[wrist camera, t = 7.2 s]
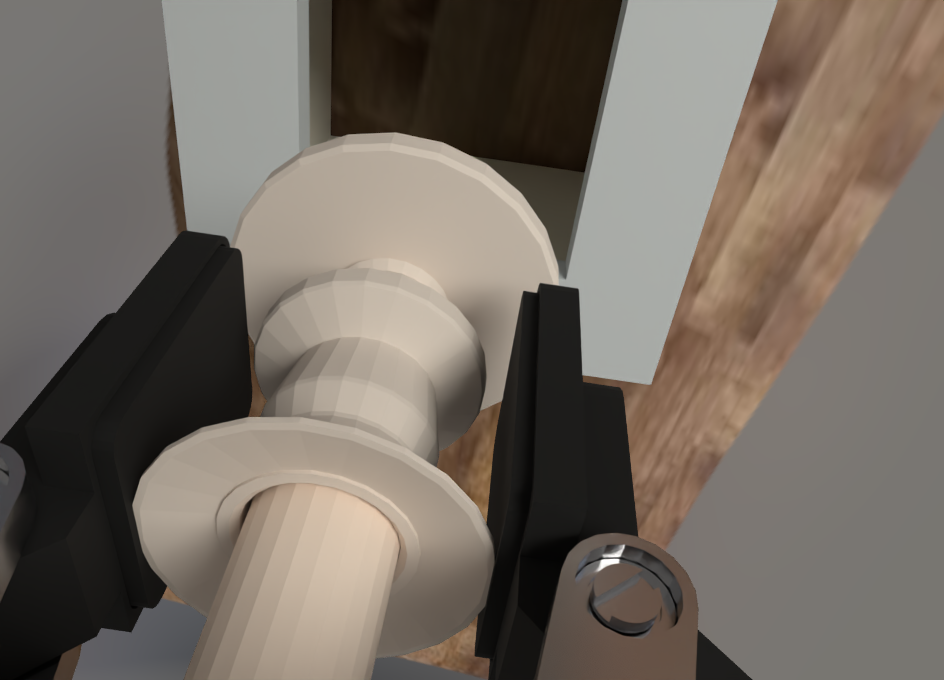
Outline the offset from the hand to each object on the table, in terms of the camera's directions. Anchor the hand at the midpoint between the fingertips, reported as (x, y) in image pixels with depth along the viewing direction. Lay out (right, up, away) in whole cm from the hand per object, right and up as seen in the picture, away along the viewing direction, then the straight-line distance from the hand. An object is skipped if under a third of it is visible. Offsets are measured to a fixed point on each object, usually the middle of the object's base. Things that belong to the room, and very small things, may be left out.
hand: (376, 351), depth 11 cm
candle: (0, +1, +2) cm, 2 cm away
